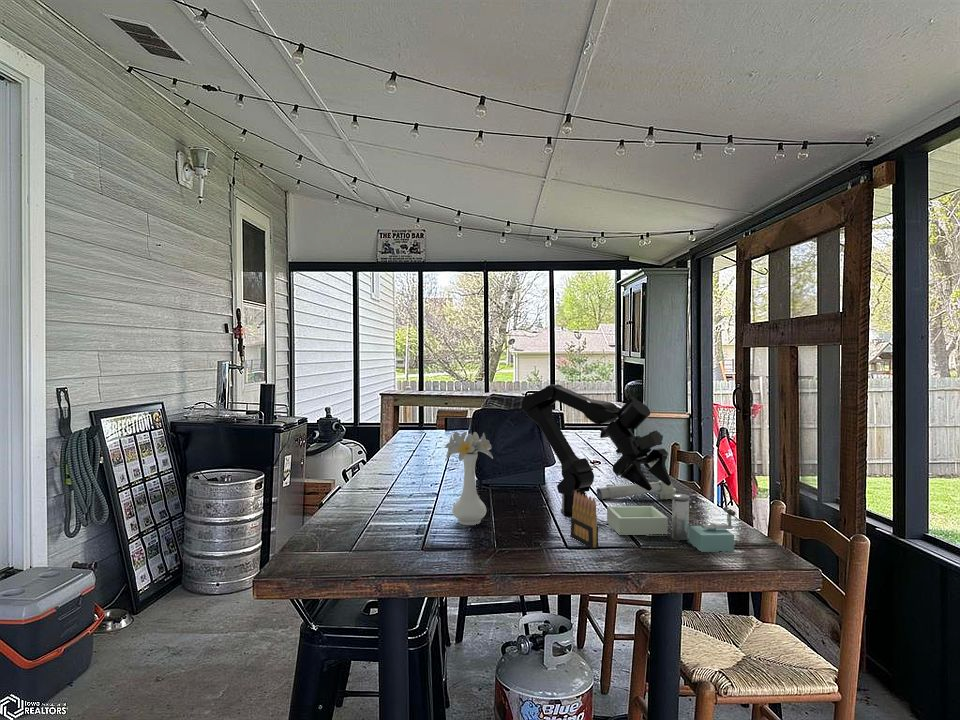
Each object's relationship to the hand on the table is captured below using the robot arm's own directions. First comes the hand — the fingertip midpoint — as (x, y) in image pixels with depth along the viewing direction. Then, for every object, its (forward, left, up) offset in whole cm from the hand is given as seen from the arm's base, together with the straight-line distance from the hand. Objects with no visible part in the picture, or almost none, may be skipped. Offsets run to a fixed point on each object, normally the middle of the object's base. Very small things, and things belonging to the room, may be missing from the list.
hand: (660, 487), depth 175 cm
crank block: (+9, -11, -12) cm, 19 cm away
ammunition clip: (-21, -6, -12) cm, 25 cm away
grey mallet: (+6, +40, -13) cm, 42 cm away
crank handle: (+10, -11, -8) cm, 17 cm away
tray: (-5, +5, -12) cm, 14 cm away
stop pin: (+4, -4, -12) cm, 13 cm away
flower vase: (-49, +14, -12) cm, 53 cm away
